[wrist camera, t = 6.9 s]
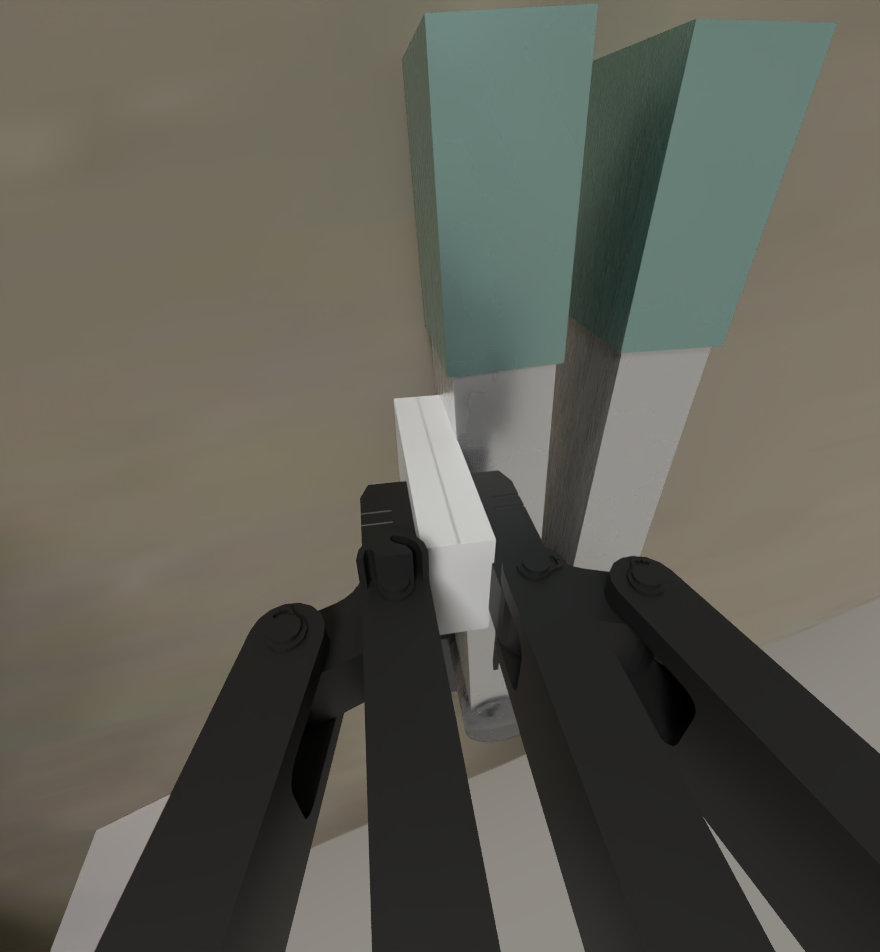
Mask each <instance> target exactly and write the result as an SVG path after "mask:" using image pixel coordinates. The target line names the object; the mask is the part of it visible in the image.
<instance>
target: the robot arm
mask: <svg viewBox="0 0 880 952" xmlns="http://www.w3.org/2000/svg"><path fill="white" fill-rule="evenodd" d="M394 410H395V423H396V436H397V449H398V463H399V474H400V480H401V482H394V483H384V484H375V485H368V486H367V488H366V489H365V491H364V493H363V495H362V496H361V498H360V503H361V526H362V527H361V531H362V547H361V548H360V549H359V550H358V554H357V558H356V563H357V569H358V575H359V581H360V583H359V585H358V586H357V587H356V589H355V590H354V591H353V592H352V593H351V594H350V595H349V596H347V597H346V598H345V599H343V600H341V601H339V602H338V603H336V604H333V605H331V606H329V607H326V608H324V609H321V610H319V611H318V610H316V609H315V608H314V607H312V606H310V605H306V604H302V603H293V604H284V605H282V606H279V607H277V608H274V609H272V610H270V611H269V612H267V613H266V614H265V615H263V616H262V617H261V618H260V619H258V621H257V622H256V623H255V625H254V626H253V628H252V629H251V630H250V632H249V634H248V636H247V638H246V640H245V642H244V644H243V647H242V649H241V651H240V653H239V655H238V657H237V659H236V661H235V663H234V665H233V667H232V669H231V671H230V673H229V675H228V677H227V679H226V681H225V684H224V686H223V688H222V690H221V692H220V694H219V696H218V698H217V700H216V702H215V704H214V706H213V708H212V710H211V712H210V714H209V716H208V718H207V721H206V723H205V725H204V727H203V729H202V731H201V733H200V735H199V737H198V739H197V741H196V743H195V745H194V747H193V749H192V751H191V753H190V755H189V758H188V760H187V762H186V764H185V766H184V768H183V770H182V772H181V774H180V776H179V778H178V780H177V782H176V784H175V786H174V788H173V790H172V792H171V795H170V797H169V799H168V801H167V803H166V805H165V807H164V809H163V811H162V813H161V815H160V817H159V819H158V821H157V823H156V825H155V827H154V829H153V832H152V834H151V836H150V838H149V840H148V842H147V844H146V846H145V848H144V850H143V852H142V854H141V856H140V858H139V860H138V862H137V864H136V866H135V869H134V871H133V873H132V875H131V877H130V879H129V881H128V883H127V885H126V887H125V889H124V891H123V893H122V895H121V897H120V899H119V901H118V903H117V906H116V908H115V910H114V912H113V914H112V916H111V918H110V920H109V922H108V924H107V926H106V928H105V930H104V932H103V934H102V936H101V938H100V941H99V943H98V945H97V947H96V949H95V951H94V952H285V950H286V946H287V942H288V938H289V934H290V930H291V926H292V921H293V917H294V914H295V909H296V905H297V901H298V897H299V893H300V889H301V885H302V881H303V877H304V873H305V869H306V864H307V861H308V857H309V853H310V849H311V845H312V841H313V837H314V833H315V828H316V824H317V820H318V816H319V812H320V808H321V804H322V800H323V796H324V792H325V788H326V784H327V780H328V776H329V772H330V768H331V764H332V760H333V756H334V751H335V747H336V743H337V739H338V735H339V731H340V727H341V723H342V719H343V715H344V713H345V712H346V711H348V710H350V709H352V708H354V707H356V706H358V705H360V704H362V703H364V702H365V733H366V766H367V798H368V831H369V860H370V861H369V864H370V895H371V928H372V952H501V951H500V947H499V940H498V935H497V930H496V925H495V920H494V914H493V909H492V904H491V899H490V894H489V888H488V883H487V878H486V873H485V868H484V863H483V857H482V852H481V847H480V842H479V836H478V831H477V826H476V821H475V816H474V810H473V805H472V800H471V795H470V789H469V784H468V779H467V774H466V769H465V763H464V758H463V753H462V748H461V743H460V737H459V732H458V727H457V722H456V717H455V711H454V706H453V701H452V696H451V691H450V685H449V680H448V675H447V670H446V665H445V659H444V654H443V649H442V644H441V639H440V635H443V634H450V633H457V632H464V631H471V630H477V629H484V628H489V618H490V616H491V619H492V622H493V625H494V629H495V642H494V652H493V670H498V666H499V664H500V667H501V671H502V674H503V677H504V681H505V684H506V688H507V691H508V694H509V698H510V701H511V704H512V708H513V711H514V714H515V718H516V721H517V725H518V728H519V731H520V735H521V738H522V741H523V745H524V748H525V751H526V755H527V758H528V761H529V765H530V768H531V772H532V775H533V778H534V781H535V785H536V788H537V792H538V795H539V798H540V802H541V805H542V808H543V812H544V815H545V819H546V822H547V825H548V828H549V832H550V835H551V839H552V842H553V845H554V849H555V852H556V855H557V859H558V862H559V866H560V869H561V872H562V875H563V879H564V882H565V886H566V889H567V892H568V896H569V899H570V902H571V906H572V909H573V912H574V916H575V919H576V923H577V926H578V929H579V933H580V936H581V939H582V943H583V946H584V949H585V952H775V950H774V948H773V947H772V945H771V943H770V941H769V939H768V937H767V935H766V934H765V932H764V930H763V928H762V926H761V924H760V922H759V920H758V919H757V917H756V915H755V913H754V911H753V909H752V907H751V906H750V904H749V902H748V900H747V898H746V896H745V894H744V893H743V891H742V889H741V887H740V885H739V883H738V881H737V880H736V878H735V876H734V874H733V872H732V870H731V868H730V866H729V865H728V863H727V861H726V859H725V857H724V855H723V853H722V852H721V850H720V848H719V846H718V844H717V842H716V840H715V838H714V837H713V835H712V833H711V831H710V829H709V827H708V826H707V824H706V822H705V820H704V818H705V819H706V821H707V822H708V824H709V825H710V826H711V828H712V829H713V830H714V831H715V833H716V834H717V836H718V837H719V838H720V840H721V841H722V842H723V843H724V845H725V846H726V847H727V849H728V850H729V851H730V852H731V854H732V855H733V857H734V858H735V859H736V861H737V862H738V863H739V864H740V866H741V867H742V869H743V870H744V871H745V872H746V874H747V875H748V876H749V878H750V879H751V880H752V882H753V883H754V884H755V886H756V887H757V888H758V889H759V891H760V892H761V894H762V895H763V896H764V897H765V899H766V900H767V901H768V903H769V904H770V905H771V907H772V908H773V909H774V911H775V912H776V913H777V915H778V916H779V917H780V919H781V920H782V921H783V923H784V924H785V925H786V926H787V928H788V929H789V930H790V932H791V933H792V934H793V936H794V937H795V938H796V940H797V941H798V942H799V944H800V945H801V946H802V947H803V949H804V950H805V952H880V754H879V753H878V752H877V751H876V750H875V749H874V748H872V747H871V746H870V745H869V744H868V743H867V742H866V741H865V740H864V739H862V738H861V737H860V736H859V735H858V734H857V733H856V732H854V731H853V730H852V729H851V728H850V727H849V726H847V725H846V724H845V723H844V722H843V721H842V720H841V719H840V718H839V717H837V716H836V715H835V714H834V713H833V712H832V711H831V710H829V709H828V708H827V707H826V706H825V705H824V704H823V703H821V702H820V701H819V700H818V699H817V698H816V697H815V696H814V695H812V694H811V693H810V692H809V691H808V690H807V689H806V688H804V687H803V686H802V685H801V684H800V683H799V682H798V681H797V680H795V679H794V678H793V677H792V676H791V675H790V674H789V673H787V672H786V671H785V670H784V669H783V668H782V667H781V666H779V665H778V664H777V663H776V662H775V661H774V660H773V659H772V658H770V657H769V656H768V655H767V654H766V653H765V652H764V651H762V650H761V649H760V648H759V647H758V646H757V645H756V644H754V643H753V642H752V641H751V640H750V639H749V638H748V637H747V636H745V635H744V634H743V633H742V632H741V631H740V630H739V629H737V628H736V627H735V626H734V625H733V624H732V623H731V622H730V621H728V620H727V619H726V618H725V617H724V616H723V615H722V614H720V613H719V612H718V611H717V610H716V609H715V608H714V607H712V606H711V605H710V604H709V603H708V602H707V601H706V600H705V599H703V598H702V597H701V596H700V595H699V594H698V593H697V592H695V591H694V590H693V589H692V588H691V587H690V586H689V585H687V584H686V583H685V582H684V581H683V580H682V579H681V578H680V577H678V576H677V575H676V574H675V573H674V572H673V571H672V570H670V569H669V568H667V567H666V566H664V565H663V564H661V563H660V562H657V561H655V560H652V559H649V558H647V557H639V556H629V557H623V558H620V559H619V560H617V561H616V562H614V563H613V565H612V567H611V569H610V572H608V571H600V570H592V569H584V568H579V567H574V566H571V565H569V564H567V563H566V562H565V560H564V559H563V558H562V557H561V556H560V554H558V553H557V552H555V551H553V550H552V549H550V548H548V547H545V545H544V543H543V541H542V540H541V538H540V536H539V534H538V532H537V530H536V528H535V526H534V524H533V522H532V520H531V518H530V516H529V514H528V512H527V510H526V508H525V507H524V504H523V502H522V500H521V498H520V496H518V492H517V490H516V488H515V486H514V484H513V482H512V480H510V479H509V478H508V477H506V476H505V475H504V474H503V473H501V472H500V471H499V470H496V471H487V472H477V473H470V471H469V469H468V466H467V463H466V461H465V458H464V456H463V453H462V451H461V448H460V445H459V443H458V442H457V441H456V438H455V436H454V433H453V430H452V427H451V425H450V422H449V419H448V417H447V414H446V411H445V408H444V406H443V403H442V400H441V397H440V395H433V396H421V397H409V398H396V399H394ZM703 817H704V818H703Z"/></svg>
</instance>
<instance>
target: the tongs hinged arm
mask: <svg viewBox="0 0 880 952" xmlns="http://www.w3.org/2000/svg"><path fill="white" fill-rule="evenodd" d="M597 9H598V4H581V5H563V6H546V7H528V8H510V9H492V10H475V11H457V12H439V13H425V14H424V16H423V18H422V20H421V22H420V24H419V26H418V28H417V30H416V32H415V34H414V36H413V38H412V40H411V42H410V44H409V46H408V48H407V50H406V52H405V54H404V56H403V58H402V68H403V79H404V91H405V102H406V114H407V125H408V137H409V148H410V160H411V171H412V182H413V194H414V205H415V217H416V228H417V240H418V251H419V263H420V274H421V286H422V297H423V309H424V320H425V327H426V330H427V332H428V334H429V337H430V339H431V341H432V353H433V365H434V378H435V390H436V395H440V397H441V400H442V403H443V406H444V408H445V411H446V414H447V417H448V419H449V422H450V425H451V427H452V430H453V433H454V436H455V438H456V441H457V442H458V443H459V445H460V448H461V451H462V453H463V456H464V458H465V461H466V463H467V466H468V469H469V471H470V473H477V472H487V471H496V470H499V471H500V472H501V473H503V474H504V475H505V476H506V477H508V478H509V479H510V480H512V482H513V484H514V486H515V488H516V490H517V492H518V496H520V498H521V500H522V502H523V504H524V507H525V508H526V510H527V512H528V514H529V516H530V518H531V520H532V522H533V524H534V526H535V528H536V530H537V532H538V534H539V536H540V538H542V526H543V514H544V502H545V490H546V478H547V467H548V455H549V443H550V431H551V419H552V407H553V396H554V384H555V372H556V364H560V363H564V357H565V347H566V336H567V326H568V315H569V304H570V294H571V283H572V273H573V262H574V252H575V241H576V231H577V220H578V210H579V199H580V188H581V178H582V167H583V157H584V146H585V136H586V125H587V115H588V104H589V93H590V83H591V72H592V62H593V51H594V41H595V30H596V20H597ZM494 642H495V629H494V625H493V622H492V619H491V616H490V618H489V628H484V629H477V630H471V631H464V632H457V633H455V639H454V640H453V641H452V643H451V645H450V655H451V660H452V665H453V670H454V675H455V681H456V686H457V691H458V696H459V701H460V706H461V711H462V716H463V721H464V726H465V731H466V734H467V735H468V737H470V738H471V739H473V740H476V741H481V742H494V741H500V740H505V739H508V738H511V737H514V736H516V735H518V734H520V731H519V728H518V725H517V721H516V718H515V714H514V711H513V708H512V704H511V701H510V698H509V694H508V691H507V688H506V684H505V681H504V677H503V674H502V671H501V667H500V664H499V666H498V670H493V652H494Z"/></svg>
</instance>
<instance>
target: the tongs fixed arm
mask: <svg viewBox="0 0 880 952" xmlns="http://www.w3.org/2000/svg"><path fill="white" fill-rule="evenodd" d="M836 25H837V23H820V22H786V21H753V20H720V19H695V20H692V21H690V22H687V23H685V24H682V25H680V26H677V27H675V28H673V29H670V30H668V31H665V32H663V33H660V34H658V35H655V36H653V37H651V38H648V39H646V40H643V41H641V42H638V43H636V44H633V45H631V46H629V47H626V48H624V49H621V50H619V51H616V52H614V53H611V54H609V55H607V56H604V57H602V58H599V59H597V60H594V61H593V65H592V72H591V83H590V93H589V104H588V115H587V125H586V136H585V146H584V157H583V167H582V178H581V188H580V199H579V210H578V220H577V231H576V241H575V252H574V262H573V273H572V283H571V294H570V304H569V315H568V326H567V336H566V347H565V357H564V363H560V364H556V372H555V384H554V396H553V407H552V419H551V431H550V443H549V455H548V467H547V478H546V490H545V502H544V514H543V526H542V538H541V540H542V541H543V543H544V545H545V547H548V548H550V549H552V550H553V551H555V552H557V553H558V554H560V556H561V557H562V558H563V559H564V560H565V562H566V563H567V564H569V565H571V566H574V567H579V568H584V569H592V570H600V571H608V572H610V569H611V567H612V565H613V563H614V562H616V561H617V560H619V559H620V558H623V557H629V556H639V557H640V554H641V551H642V548H643V545H644V542H645V539H646V536H647V534H648V531H649V528H650V525H651V522H652V519H653V516H654V513H655V510H656V507H657V504H658V501H659V498H660V495H661V493H662V490H663V487H664V484H665V481H666V478H667V475H668V472H669V469H670V466H671V463H672V460H673V457H674V454H675V451H676V449H677V446H678V443H679V440H680V437H681V434H682V431H683V428H684V425H685V422H686V419H687V416H688V413H689V410H690V407H691V405H692V402H693V399H694V396H695V393H696V390H697V387H698V384H699V381H700V378H701V375H702V372H703V369H704V366H705V364H706V361H707V358H708V355H709V352H710V349H711V347H721V346H723V343H724V340H725V338H726V335H727V332H728V329H729V326H730V323H731V321H732V318H733V315H734V312H735V309H736V307H737V304H738V301H739V298H740V295H741V293H742V290H743V287H744V284H745V281H746V278H747V276H748V273H749V270H750V267H751V264H752V262H753V259H754V256H755V253H756V250H757V247H758V245H759V242H760V239H761V236H762V233H763V231H764V228H765V225H766V222H767V219H768V217H769V214H770V211H771V208H772V205H773V202H774V200H775V197H776V194H777V191H778V188H779V186H780V183H781V180H782V177H783V174H784V171H785V169H786V166H787V163H788V160H789V157H790V155H791V152H792V149H793V146H794V143H795V141H796V138H797V135H798V132H799V129H800V126H801V124H802V121H803V118H804V115H805V112H806V110H807V107H808V104H809V101H810V98H811V96H812V93H813V90H814V87H815V84H816V81H817V79H818V76H819V73H820V70H821V67H822V65H823V62H824V59H825V56H826V53H827V50H828V48H829V45H830V42H831V39H832V36H833V34H834V31H835V28H836ZM440 639H441V644H442V649H443V654H444V659H445V665H446V670H447V675H448V680H449V685H450V691H451V692H452V691H457V686H456V681H455V675H454V670H453V665H452V660H451V655H450V645H451V643H452V641H453V640H454V639H455V633H450V634H443V635H440Z"/></svg>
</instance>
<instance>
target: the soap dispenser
mask: <svg viewBox="0 0 880 952" xmlns="http://www.w3.org/2000/svg"><path fill="white" fill-rule="evenodd" d="M170 795H171V794H169V795H167V796H165V797H163V798H161V799H159V800H157V801H155V802H153V803H151V804H149V805H147V806H145V807H143V808H141V809H139V810H137V811H135V812H133V813H131V814H129V815H127V816H124V817H122V818H120V819H118V820H116V821H114V822H112V823H110V824H108V825H106V826H104V827H102V828H100V829H98V830H96V833H95V836H94V838H93V841H92V843H91V846H90V849H89V851H88V854H87V856H86V859H85V862H84V864H83V867H82V870H81V872H80V875H79V877H78V880H77V883H76V885H75V888H74V891H73V893H72V896H71V898H70V901H69V904H68V906H67V909H66V912H65V914H64V917H63V919H62V922H61V925H60V927H59V930H58V932H57V935H56V938H55V940H54V943H53V946H52V948H51V951H50V952H94V951H95V949H96V947H97V945H98V943H99V941H100V938H101V936H102V934H103V932H104V930H105V928H106V926H107V924H108V922H109V920H110V918H111V916H112V914H113V912H114V910H115V908H116V906H117V903H118V901H119V899H120V897H121V895H122V893H123V891H124V889H125V887H126V885H127V883H128V881H129V879H130V877H131V875H132V873H133V871H134V869H135V866H136V864H137V862H138V860H139V858H140V856H141V854H142V852H143V850H144V848H145V846H146V844H147V842H148V840H149V838H150V836H151V834H152V832H153V829H154V827H155V825H156V823H157V821H158V819H159V817H160V815H161V813H162V811H163V809H164V807H165V805H166V803H167V801H168V799H169V797H170Z"/></svg>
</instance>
